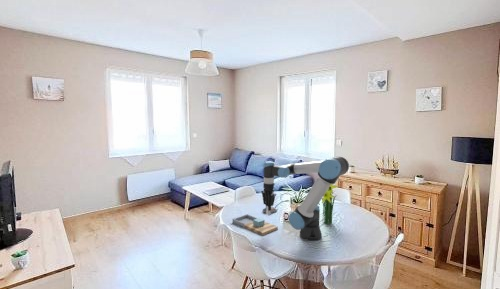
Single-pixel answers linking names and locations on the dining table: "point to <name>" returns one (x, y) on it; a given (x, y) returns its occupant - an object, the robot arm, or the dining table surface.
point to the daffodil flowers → (328, 204)
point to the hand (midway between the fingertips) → (268, 214)
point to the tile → (258, 222)
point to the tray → (243, 220)
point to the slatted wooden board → (261, 228)
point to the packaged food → (271, 210)
